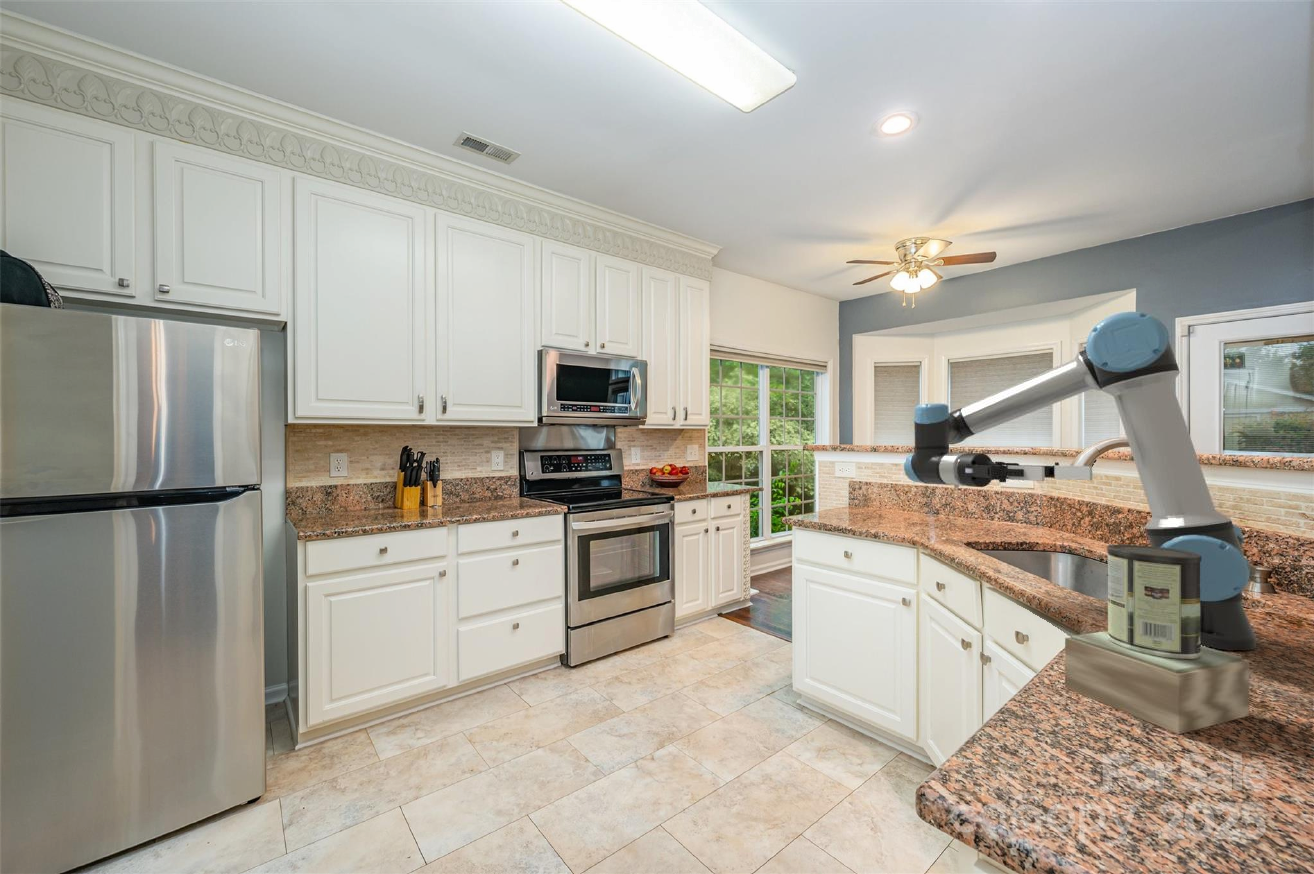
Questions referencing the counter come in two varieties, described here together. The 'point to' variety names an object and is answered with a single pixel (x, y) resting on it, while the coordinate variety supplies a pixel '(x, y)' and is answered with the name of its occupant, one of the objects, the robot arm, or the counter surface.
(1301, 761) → the counter surface
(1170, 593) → the coffee can
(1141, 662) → the riser
